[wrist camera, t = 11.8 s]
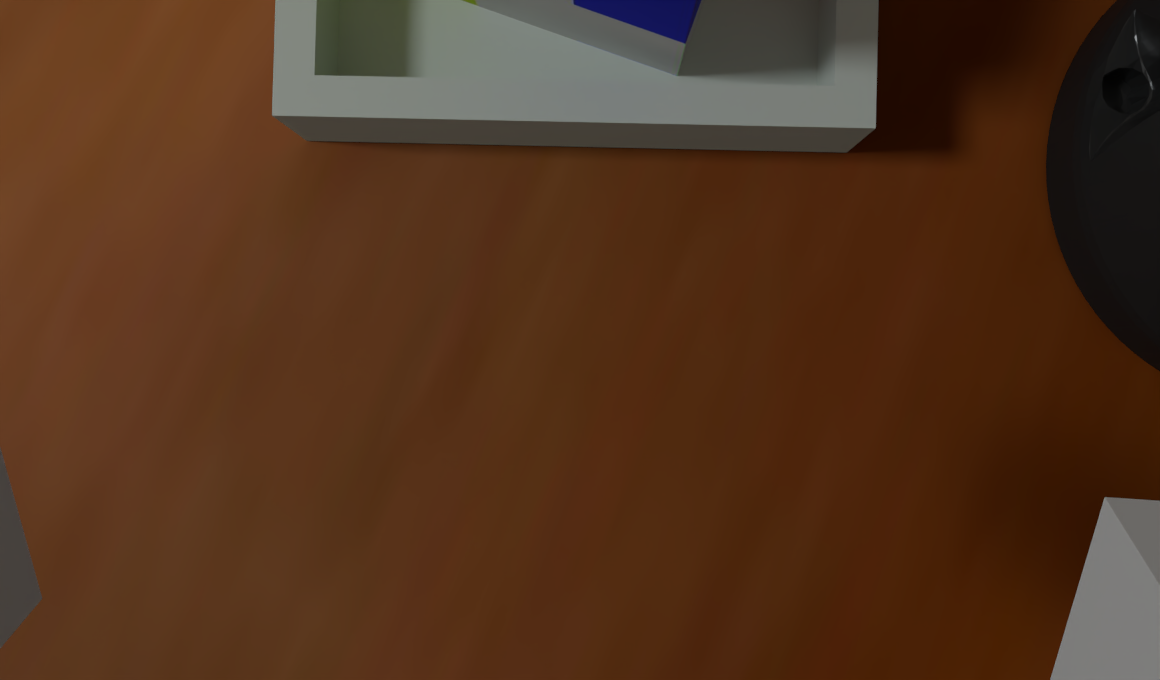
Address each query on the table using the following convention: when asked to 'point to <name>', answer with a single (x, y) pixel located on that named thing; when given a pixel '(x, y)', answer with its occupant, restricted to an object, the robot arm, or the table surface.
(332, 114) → the white square tray
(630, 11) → the puzzle toy
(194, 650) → the table surface
